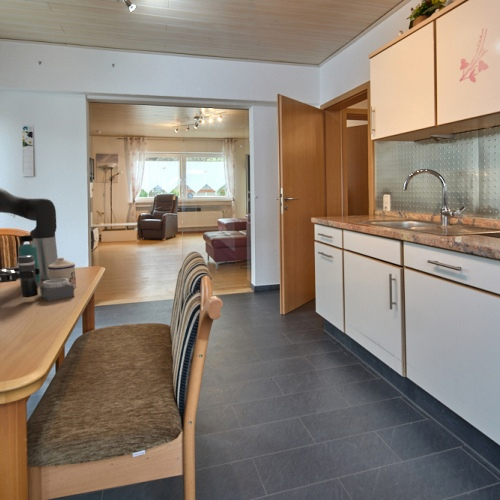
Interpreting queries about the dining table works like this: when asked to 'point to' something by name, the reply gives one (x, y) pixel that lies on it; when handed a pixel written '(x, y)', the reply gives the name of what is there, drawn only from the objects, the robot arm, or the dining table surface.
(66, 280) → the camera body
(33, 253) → the beverage bottle
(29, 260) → the lens
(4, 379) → the dining table surface
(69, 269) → the teacup with lid
